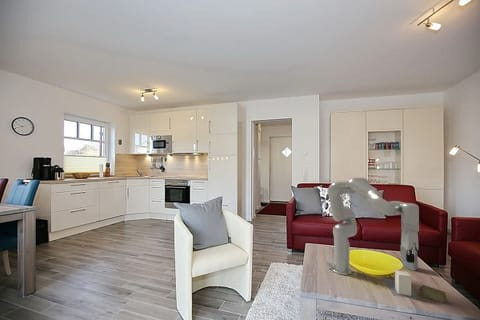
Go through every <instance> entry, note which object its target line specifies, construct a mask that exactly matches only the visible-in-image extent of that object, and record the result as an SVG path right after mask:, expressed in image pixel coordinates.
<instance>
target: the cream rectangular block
mask: <svg viewBox="0 0 480 320" xmlns="http://www.w3.org/2000/svg"><path fill="white" fill-rule="evenodd" d="M394 280H395V290H396V291H397V293H398V294H399V295H405V296H411V290H412V275H411V274H410V273H409V272H408V271H406V270H400V269H395V270H394Z"/></svg>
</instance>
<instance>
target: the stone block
mask: <svg viewBox="0 0 480 320" xmlns="http://www.w3.org/2000/svg"><path fill="white" fill-rule="evenodd" d="M418 289H419V290H418V295H420V296H421V297H424V298H427V299H429V300H432V301H435V302H438V303H440V304H445V303H446V302H447V300H448V299H447V298H448V297H447V292H445V291H443V290H440V289H437V288H434V287H431V286H427V285H425V284H421V285H420V286H419V288H418Z"/></svg>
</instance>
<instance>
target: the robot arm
mask: <svg viewBox="0 0 480 320" xmlns="http://www.w3.org/2000/svg"><path fill="white" fill-rule="evenodd" d="M353 193H354V194H355V193H356V194H358V195H359V196H361V197H362V198H363V199H365V200H367V203H369V204H370V205H371V207H372V208H373V209H375V210H377V211H378V212H379V213H381V214H383V215H385V216H388V217H391V216H399V215H401V216H400V217H401V219H400V222H401V224H400V225H401V228H400V229H401V235H400V236H401V237H400V245H402V246H403V247H404V248H405V249H406V253H407V254H406V261H407V262H409V263H414V255H415V254H416V251H417V252H418V251H419V235H418V233H419V231H420V209H419V208H420V207H419V205H418V204H416V203H411V202H403V201H399V200H391V201H387V200H386V199H384V198H382V197H381V196H379V194H378V189H377V188H376V187H374V186H372V185H370V182H369V180H368V179H367V178H365V177H353V178H351V179H349V180H348V181H335V182H332V183H331V184H330V185H329V186H328V188H327V196H328V200H329V203H330V208H331V209H330V210H331V215H332V218H333V220H334V221H335V222H339V223H337V224H336V225H334V226H333V229H332V235H333V245H334V246H333V247H334V248H333V251H334V252H333V262H326V266H328V267H329V268H330V267H331V270H332V272H334V273H335V274H338V275H341V276H348V275H351V274H352V269H351V268H350V251H351V250H350V248H351V246H350V241H349V238H351V237H354V236H356V235H357V233H358V226H357V221H356V220H357V219H356V216H355V212H354V211H353V209H352V208H351V207H349V206H345V205H344V200H343V198H342V196H341V195H347V194H348V195H350V194H353ZM340 222H342V223H340Z"/></svg>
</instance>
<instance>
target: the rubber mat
mask: <svg viewBox="0 0 480 320" xmlns="http://www.w3.org/2000/svg"><path fill="white" fill-rule="evenodd" d="M382 279H383V280H384V282H385V284H386V286H387V287H388V289H389V290H390V292H391V294H392V295H393V296H396V297H401V298H408V299H413V300H419V297H418V296H417V295H416V293H415V292H414V291H413V290H412V289H411V296H405V295H399V294H398V293H397V291H396V290H395V279H390V278H382Z"/></svg>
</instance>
